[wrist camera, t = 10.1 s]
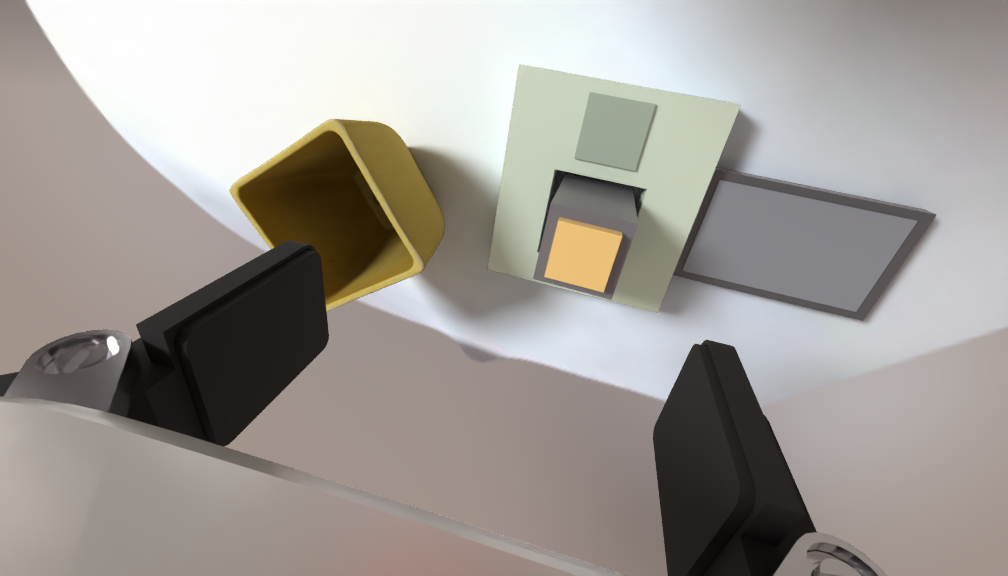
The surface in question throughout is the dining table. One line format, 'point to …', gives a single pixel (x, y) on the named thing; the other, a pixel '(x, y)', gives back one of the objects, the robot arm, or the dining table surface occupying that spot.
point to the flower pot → (347, 206)
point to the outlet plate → (608, 168)
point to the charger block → (587, 236)
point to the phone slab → (799, 242)
